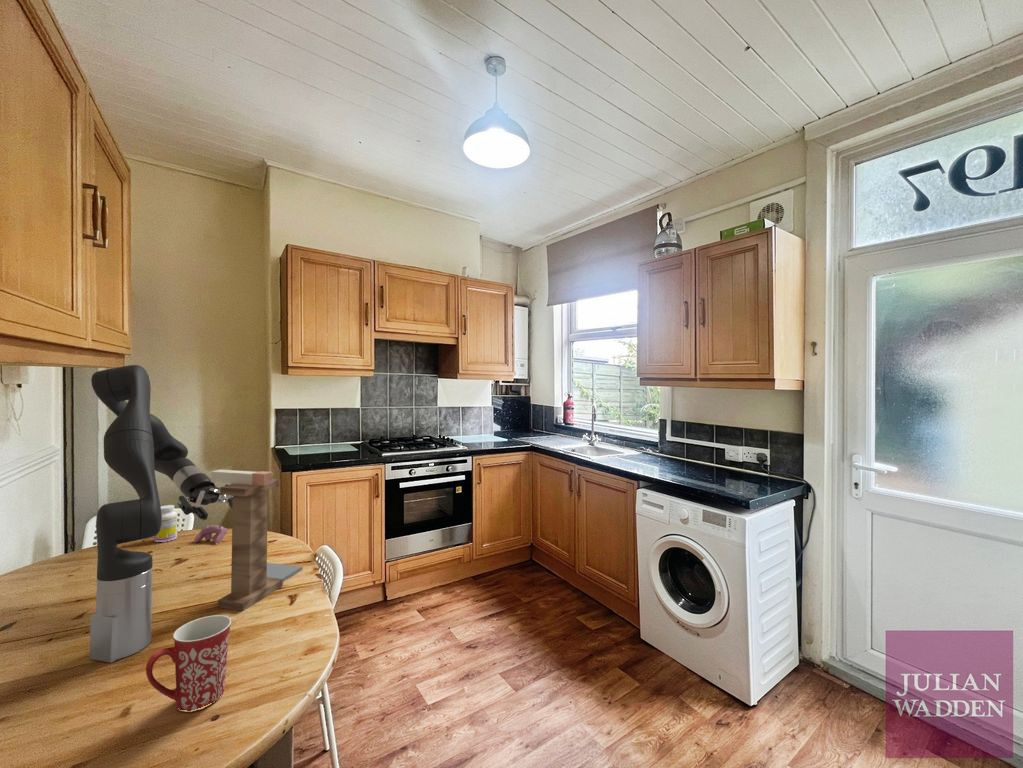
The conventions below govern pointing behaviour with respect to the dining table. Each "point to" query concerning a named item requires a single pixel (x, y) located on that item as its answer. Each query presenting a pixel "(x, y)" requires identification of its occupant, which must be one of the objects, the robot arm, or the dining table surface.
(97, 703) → the dining table surface
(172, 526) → the supplement bottle
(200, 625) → the mug
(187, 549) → the dining table surface
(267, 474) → the block
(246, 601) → the stand
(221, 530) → the video game controller
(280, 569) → the board
